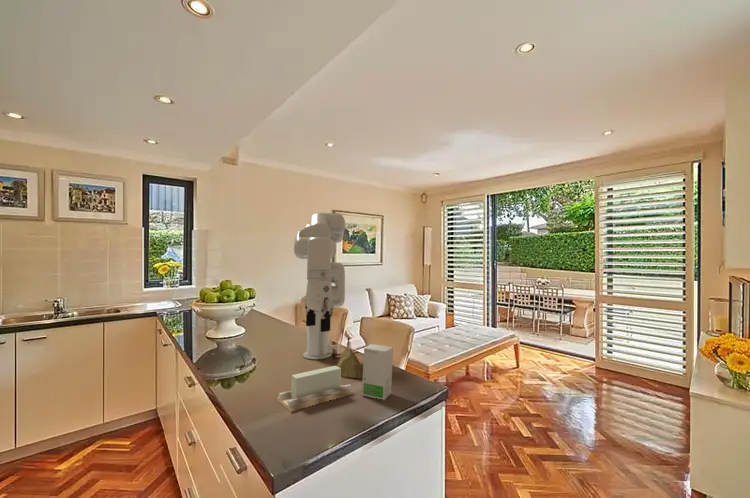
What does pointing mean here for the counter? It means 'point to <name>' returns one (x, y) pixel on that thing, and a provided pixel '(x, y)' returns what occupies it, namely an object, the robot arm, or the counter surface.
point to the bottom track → (313, 397)
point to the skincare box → (377, 371)
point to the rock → (349, 365)
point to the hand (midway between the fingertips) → (317, 328)
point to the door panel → (315, 381)
